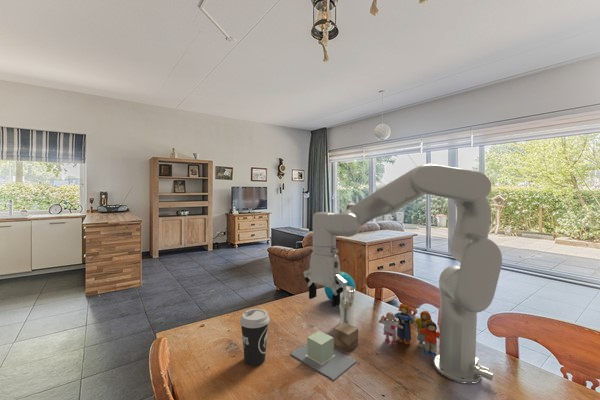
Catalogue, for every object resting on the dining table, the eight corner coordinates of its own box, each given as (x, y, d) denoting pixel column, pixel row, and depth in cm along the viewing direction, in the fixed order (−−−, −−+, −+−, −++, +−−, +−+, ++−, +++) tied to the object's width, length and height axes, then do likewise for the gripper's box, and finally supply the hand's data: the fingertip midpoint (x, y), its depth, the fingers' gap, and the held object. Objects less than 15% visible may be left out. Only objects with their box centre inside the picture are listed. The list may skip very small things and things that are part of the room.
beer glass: (356, 329, 108) (357, 291, 108) (339, 329, 108) (339, 291, 108) (353, 320, 115) (354, 285, 114) (337, 320, 115) (337, 285, 115)
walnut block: (358, 344, 98) (358, 328, 97) (348, 351, 93) (348, 334, 93) (344, 338, 102) (344, 322, 101) (334, 345, 97) (334, 328, 97)
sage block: (333, 355, 90) (333, 337, 90) (321, 363, 86) (321, 344, 86) (319, 347, 94) (319, 330, 94) (307, 355, 90) (307, 337, 90)
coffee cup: (256, 347, 95) (256, 305, 94) (275, 358, 89) (276, 313, 88) (233, 361, 88) (233, 315, 87) (253, 374, 82) (253, 324, 81)
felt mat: (356, 362, 88) (356, 360, 88) (333, 380, 79) (333, 379, 79) (313, 340, 100) (313, 338, 100) (290, 354, 91) (290, 353, 91)
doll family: (377, 341, 100) (378, 305, 99) (383, 329, 108) (384, 296, 108) (443, 359, 89) (444, 319, 89) (444, 345, 97) (445, 308, 97)
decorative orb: (342, 294, 144) (342, 266, 143) (361, 305, 131) (362, 274, 130) (318, 300, 136) (318, 270, 136) (336, 312, 123) (337, 279, 123)
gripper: (353, 252, 86) (352, 305, 87) (311, 244, 98) (311, 292, 99) (339, 256, 81) (339, 313, 82) (297, 248, 93) (297, 298, 93)
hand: (323, 301), depth 90 cm, fingers open, 9 cm apart
